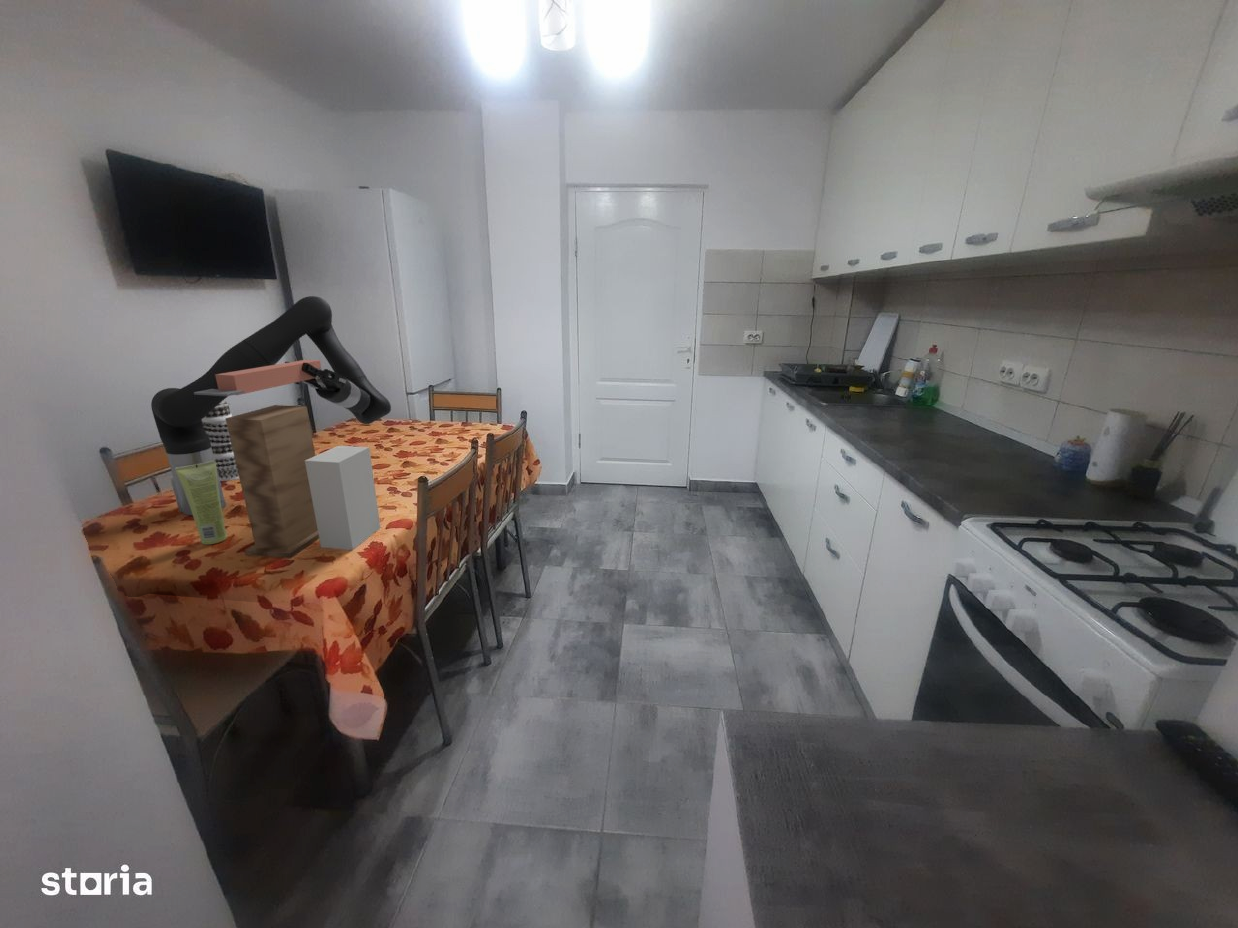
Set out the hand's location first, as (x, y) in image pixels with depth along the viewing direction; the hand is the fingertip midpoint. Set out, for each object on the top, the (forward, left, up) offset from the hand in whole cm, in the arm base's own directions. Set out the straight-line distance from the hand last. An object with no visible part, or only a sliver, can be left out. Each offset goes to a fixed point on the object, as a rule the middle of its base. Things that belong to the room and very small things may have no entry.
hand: (294, 365), depth 117 cm
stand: (0, -11, -41) cm, 42 cm away
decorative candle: (-50, +26, -41) cm, 70 cm away
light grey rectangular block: (+13, -8, -41) cm, 44 cm away
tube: (-18, -14, -41) cm, 47 cm away
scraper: (0, -9, -3) cm, 9 cm away
